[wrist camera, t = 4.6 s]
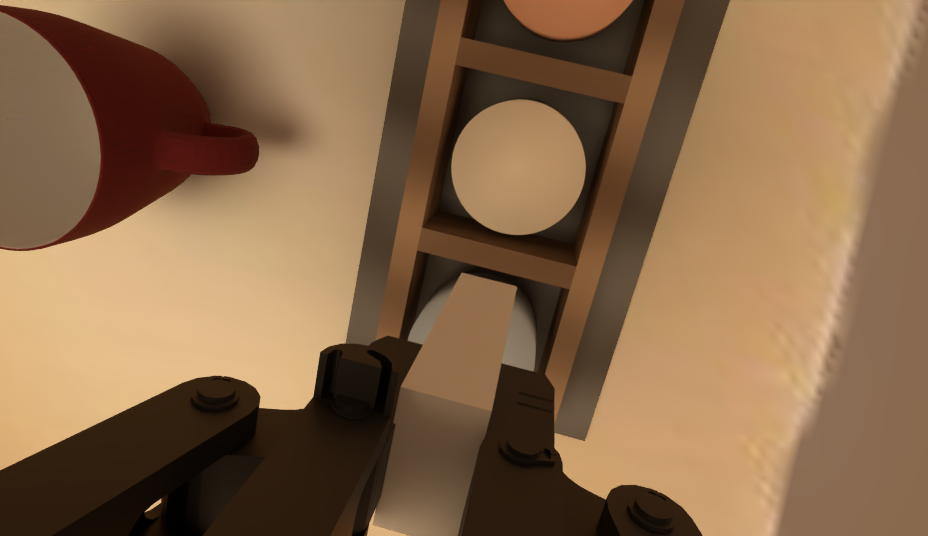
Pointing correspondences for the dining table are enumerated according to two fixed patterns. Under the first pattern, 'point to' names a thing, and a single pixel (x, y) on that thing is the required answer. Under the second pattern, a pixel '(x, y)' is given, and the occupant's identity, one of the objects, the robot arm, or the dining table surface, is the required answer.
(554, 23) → the brown oval piece
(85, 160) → the mug
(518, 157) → the cream egg
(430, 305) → the slate egg
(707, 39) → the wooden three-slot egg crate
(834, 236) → the dining table surface
